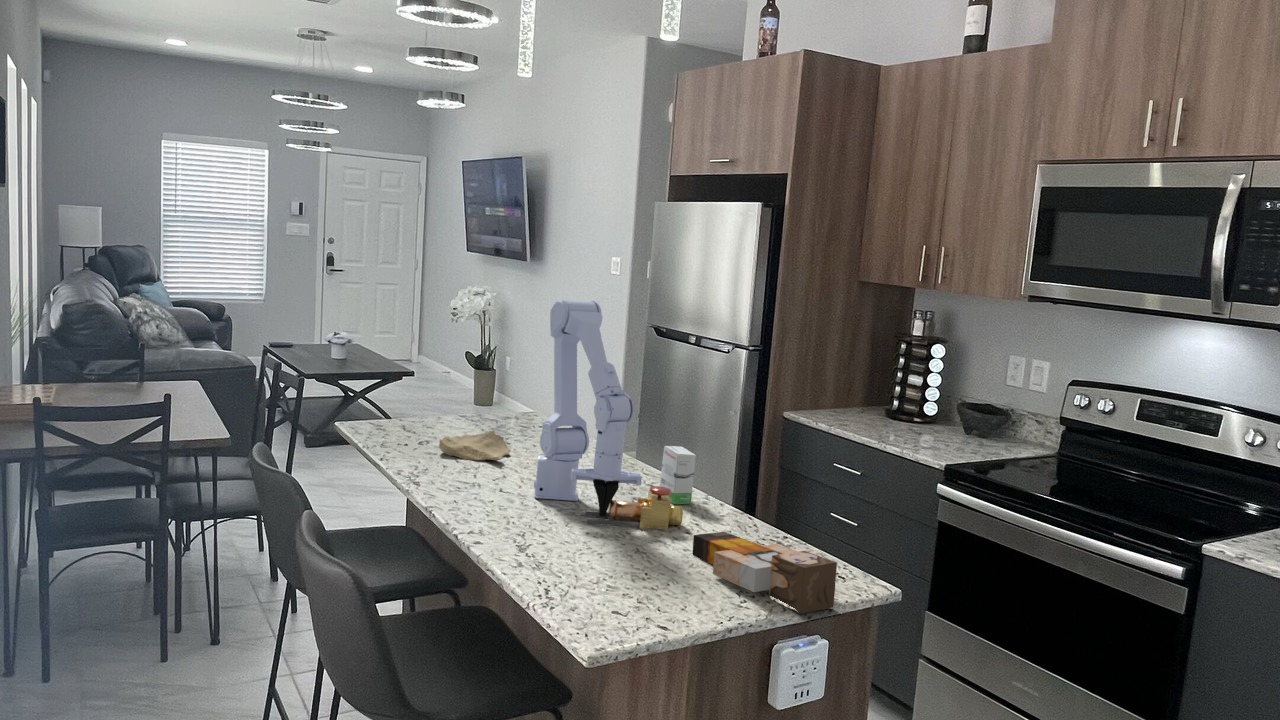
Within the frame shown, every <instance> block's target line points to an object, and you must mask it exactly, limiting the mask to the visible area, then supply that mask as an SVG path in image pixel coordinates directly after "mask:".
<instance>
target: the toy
mask: <svg viewBox="0 0 1280 720" xmlns="http://www.w3.org/2000/svg"><path fill="white" fill-rule="evenodd" d="M691 554H693V555H692V556H694V557H696V558H697V557H698V558H697V559H699V558H700V559H699V560H701V559H702V561H703V560H704V561H703V562H706V563H708V564H711V565H713V568H712V569H713V570H712V575H713V576H717V577H719V578H721V579H723V580H726V581H727V582H730V583H732V584H734V585H737V586H739V587H741V588H743V589H746V590H748V591H750V592H753V593H756V592H757V593H758V592H762V591H764V592H765V591H769V593H768V596H769V595H770V596H772V597H774V598H776V599H779V600H780V601H782V602H784V603H786V604H788V605H789V606H791V607H793V608H795V609H796V610H797V611H798V612H799V613H798V612H797V613H798V614H805V613H811V612H812V613H813V612H817V611H821V610H827V609H832V608H834V605H835V595H836V594H835V591H836V581H837V568H838V562H837V561H833V560H831V559H828V558H826V557H823V556H820V555H817V554H815V553H811V552H809V551H806V550H802V551H797V550H795V549H792V548H790V547H786V546H784V545H781V544H779V543H772V544H767V545H765V544H764V545H761V544H758V543H755V542H754V541H753V542H752V541H750V540H748V539H746V538H745V539H744V538H742V537H740V536H738V535H735V534H732V533H729V532H727V531H721V532H720V531H719V532H709V533H708V532H707V533H701V534H699V533H698V534H693V540H692V553H691Z"/></svg>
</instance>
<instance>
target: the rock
mask: <svg viewBox="0 0 1280 720" xmlns="http://www.w3.org/2000/svg"><path fill="white" fill-rule="evenodd" d="M438 447H439V449H440V450H441V451H442V452H443V453H444V454H445V455H447V456H449V457H456V458H460V459H464V460H467V461H468V460H469V461H474V462H475V461H478V462H480V461H486V460H489V461H492V460H493V461H500V460H502V458H503V457H504V456H505V457H506V455H510V452H511V451H512V450H511V449H510V448H509V446H508V445H507V443H506V441H505V440H504V437H503V436H501V434H496V432H495V431H493V430H492V431H491V430H490V431H485V432H482V433H477V434H463V435H461V436H459V435H455V436H454V437H451V436H449V435H446V436H445V437H443V438H442V439H439V444H438Z"/></svg>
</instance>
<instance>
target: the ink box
mask: <svg viewBox="0 0 1280 720" xmlns="http://www.w3.org/2000/svg"><path fill="white" fill-rule="evenodd" d="M696 458H697V455H696V454H695V453H693V452H692V451H690V450H688V449H687V448H685V447H683V446H676V445H675V446H674V445H664V446H663V454H662V462H661V472H660V481H659V486H660V487H666V488H669V489H670V490H671V492H670V495H668V497H669V499H670V501H671V504H672V505H691V504H692V497H693V487H694V477H695V470H696V469H695V468H696Z"/></svg>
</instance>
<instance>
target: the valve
mask: <svg viewBox="0 0 1280 720" xmlns="http://www.w3.org/2000/svg"><path fill="white" fill-rule="evenodd" d="M670 492H671V490H670V489H669V488H666V487H660V485H658V486H656V485H655V486H650V487H649V491H648V492H647V497H639V496H638V497H637V501H636V503H642V502H648V504H649V507H641V515H640V523H639V527H638V528H639V529H640V528H642V529H641V530H650V529H655V528H660V529H659V530H668V529H669V525H670V526H682V523H683V513H684V510H683V506H682V505H673V504H672V503H671V501H670V499H669V497H668V495H670ZM671 504H672V505H671Z"/></svg>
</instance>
